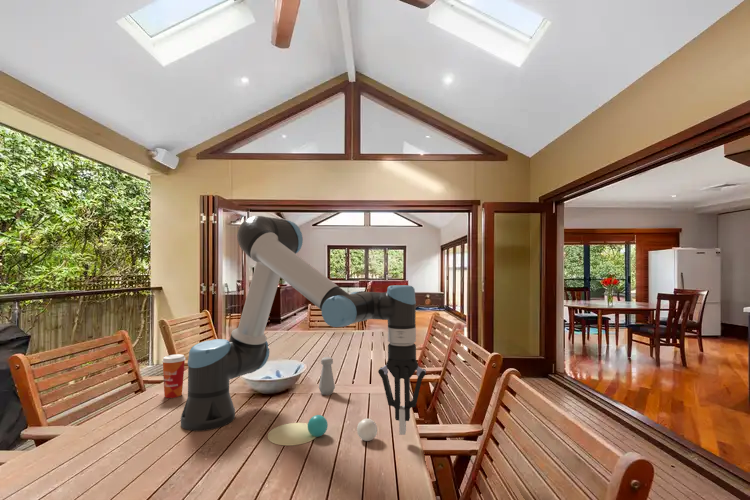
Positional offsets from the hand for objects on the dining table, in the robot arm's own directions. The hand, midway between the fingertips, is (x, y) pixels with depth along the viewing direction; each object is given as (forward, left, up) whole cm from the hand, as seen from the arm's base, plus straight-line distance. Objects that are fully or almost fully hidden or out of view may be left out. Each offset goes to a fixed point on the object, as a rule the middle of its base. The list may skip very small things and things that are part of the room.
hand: (402, 432), depth 102 cm
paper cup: (-86, +22, -3) cm, 89 cm away
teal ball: (-24, 0, 0) cm, 24 cm away
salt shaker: (-32, +34, -3) cm, 47 cm away
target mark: (-31, 0, -3) cm, 31 cm away
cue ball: (-10, 0, 0) cm, 10 cm away
